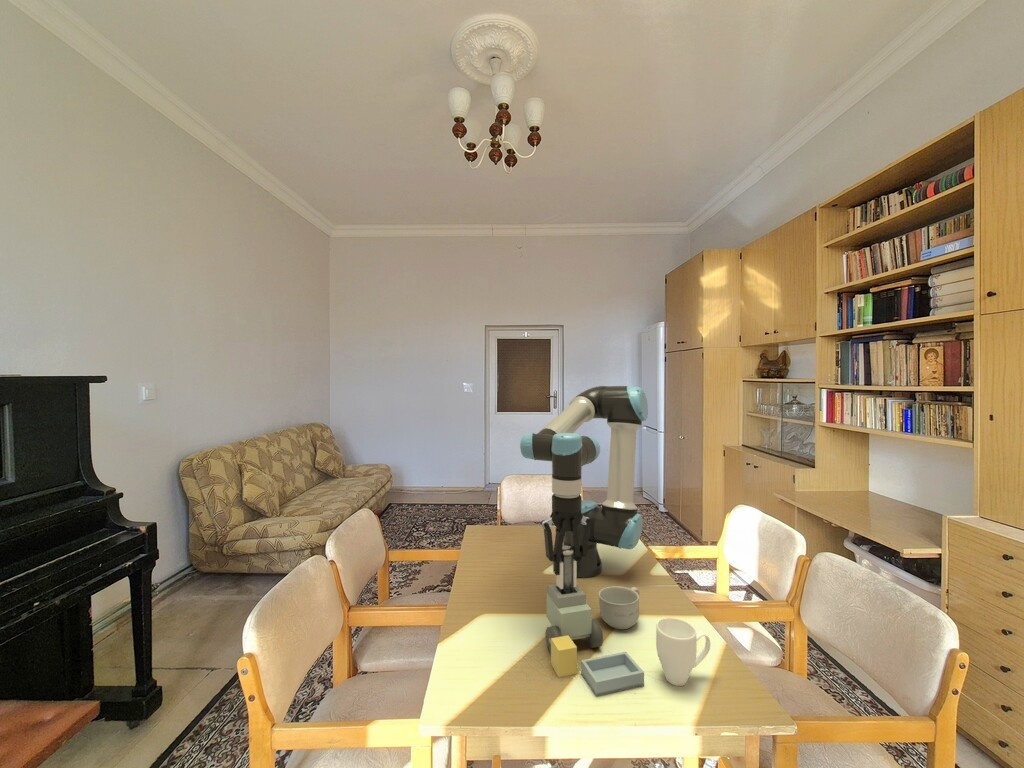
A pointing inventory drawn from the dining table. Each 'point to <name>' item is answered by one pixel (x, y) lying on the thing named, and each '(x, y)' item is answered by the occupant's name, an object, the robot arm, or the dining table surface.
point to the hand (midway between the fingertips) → (566, 585)
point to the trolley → (571, 617)
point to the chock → (563, 656)
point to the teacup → (619, 606)
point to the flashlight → (567, 569)
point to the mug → (678, 649)
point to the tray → (612, 673)
